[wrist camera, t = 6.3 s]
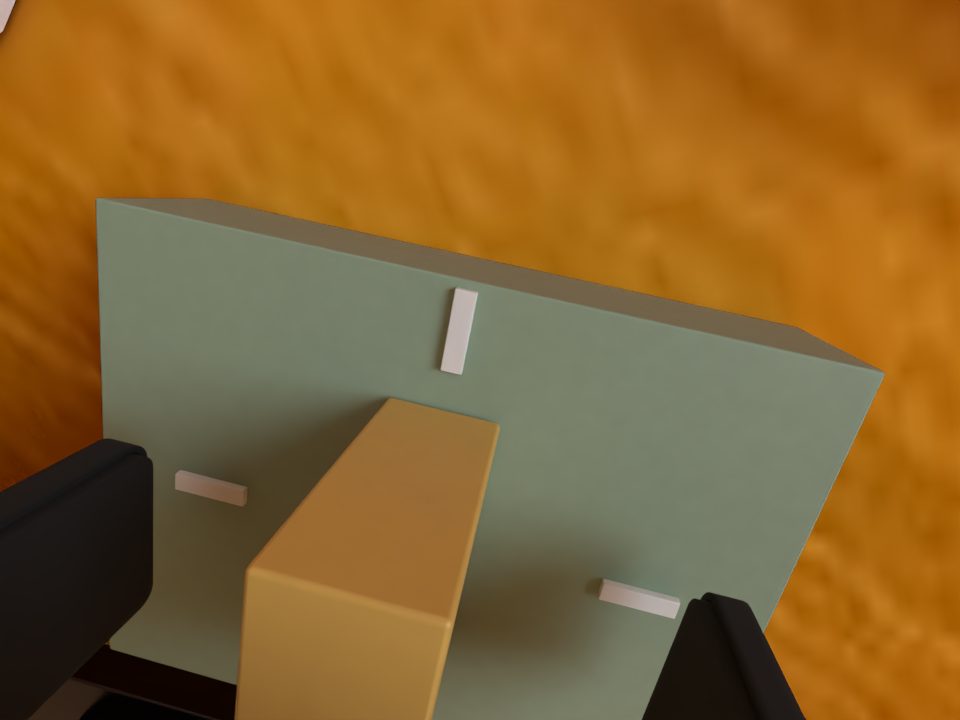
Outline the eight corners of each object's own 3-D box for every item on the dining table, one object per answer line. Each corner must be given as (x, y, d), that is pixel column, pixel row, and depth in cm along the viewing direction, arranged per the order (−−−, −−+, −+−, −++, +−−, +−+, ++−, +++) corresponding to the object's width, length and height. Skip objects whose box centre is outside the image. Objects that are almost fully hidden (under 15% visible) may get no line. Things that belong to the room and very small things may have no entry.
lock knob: (388, 395, 9) (225, 586, 5) (501, 422, 9) (448, 646, 4) (350, 638, 11) (204, 952, 6) (444, 664, 11) (364, 1005, 6)
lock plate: (799, 327, 11) (894, 376, 8) (654, 686, 14) (682, 821, 11) (206, 198, 12) (85, 196, 9) (195, 562, 15) (103, 655, 12)
